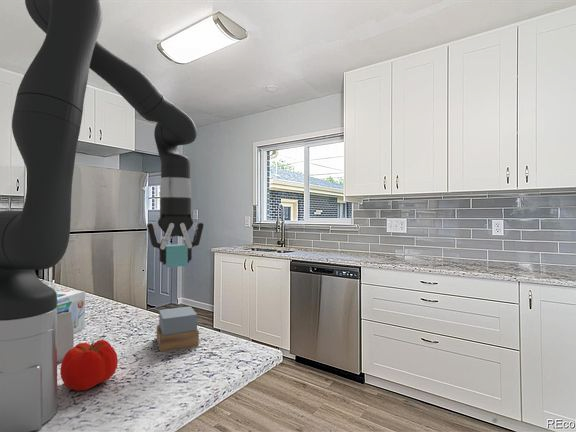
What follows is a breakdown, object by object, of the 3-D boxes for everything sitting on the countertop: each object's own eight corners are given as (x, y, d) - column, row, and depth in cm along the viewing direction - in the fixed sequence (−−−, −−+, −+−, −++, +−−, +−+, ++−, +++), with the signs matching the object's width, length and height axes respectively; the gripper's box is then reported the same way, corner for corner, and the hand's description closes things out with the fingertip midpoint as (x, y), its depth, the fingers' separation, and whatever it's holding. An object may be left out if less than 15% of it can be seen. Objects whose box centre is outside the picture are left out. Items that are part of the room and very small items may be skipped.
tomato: (50, 396, 60) (50, 355, 60) (80, 372, 69) (80, 336, 69) (103, 396, 60) (103, 354, 60) (126, 372, 69) (125, 336, 69)
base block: (198, 346, 83) (198, 330, 83) (160, 353, 79) (160, 336, 79) (191, 334, 91) (191, 320, 91) (156, 340, 87) (156, 325, 87)
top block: (197, 330, 84) (197, 314, 83) (163, 335, 80) (163, 318, 80) (190, 321, 91) (190, 306, 91) (159, 325, 87) (159, 310, 87)
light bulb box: (52, 342, 85) (52, 300, 85) (30, 340, 86) (30, 298, 86) (86, 328, 95) (86, 290, 95) (66, 326, 97) (66, 289, 96)
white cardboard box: (73, 357, 76) (73, 313, 76) (37, 367, 71) (36, 320, 71) (69, 352, 79) (68, 310, 79) (33, 361, 74) (33, 316, 74)
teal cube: (187, 265, 84) (187, 245, 84) (166, 267, 82) (166, 246, 82) (183, 263, 89) (183, 244, 88) (163, 264, 86) (163, 244, 86)
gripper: (146, 195, 78) (146, 267, 78) (207, 196, 85) (207, 263, 85) (143, 196, 85) (143, 263, 85) (200, 197, 92) (200, 259, 92)
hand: (175, 263), depth 85 cm, fingers closed on teal cube, 5 cm apart
